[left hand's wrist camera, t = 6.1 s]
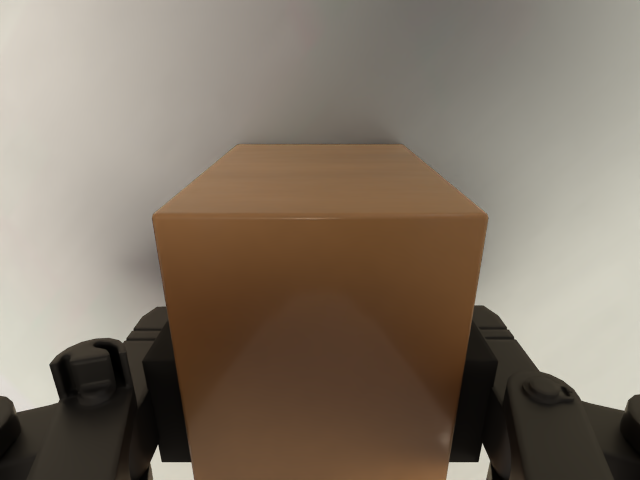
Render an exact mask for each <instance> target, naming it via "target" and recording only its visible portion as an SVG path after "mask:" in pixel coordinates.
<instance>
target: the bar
mask: <svg viewBox="0 0 640 480" xmlns="http://www.w3.org/2000/svg"><path fill="white" fill-rule="evenodd" d="M152 221H153V227H154V233H155V239H156V245H157V252H158V258H159V264H160V270H161V276H162V283H163V289H164V295H165V301H166V307H167V314H168V320H169V326H170V332H171V338H172V344H173V351H174V357H175V363H176V369H177V375H178V382H179V388H180V394H181V400H182V406H183V413H184V419H185V425H186V431H187V437H188V443H189V450H190V456H191V462H192V468H193V474H194V480H446V476H447V470H448V464H449V458H450V452H451V446H452V439H453V433H454V427H455V421H456V415H457V408H458V402H459V396H460V390H461V384H462V378H463V371H464V365H465V359H466V353H467V347H468V341H469V334H470V328H471V322H472V316H473V310H474V304H475V297H476V291H477V285H478V279H479V273H480V267H481V260H482V254H483V248H484V242H485V236H486V230H487V223H488V215H487V213H485V212H484V211H483V210H482V209H481V208H479V207H478V206H477V205H476V204H474V203H473V202H472V201H471V200H470V199H468V198H467V197H466V196H465V195H464V194H462V193H461V192H460V191H459V190H458V189H456V188H455V187H454V186H453V185H451V184H450V183H449V182H448V181H447V180H445V179H444V178H443V177H442V176H441V175H439V174H438V173H437V172H436V171H434V170H433V169H432V168H431V167H430V166H428V165H427V164H426V163H425V162H424V161H422V160H421V159H420V158H419V157H418V156H416V155H415V154H414V153H413V152H411V151H410V150H409V149H408V148H407V147H405V146H404V145H402V144H238V145H236V146H235V147H234V148H232V149H231V150H230V151H229V152H228V153H226V154H225V155H224V156H223V157H222V158H220V159H219V160H218V161H217V162H216V163H214V164H213V165H212V166H211V167H209V168H208V169H207V170H206V171H205V172H203V173H202V174H201V175H200V176H199V177H197V178H196V179H195V180H194V181H193V182H191V183H190V184H189V185H188V186H186V187H185V188H184V189H183V190H182V191H180V192H179V193H178V194H177V195H176V196H174V197H173V198H172V199H171V200H170V201H168V202H167V203H166V204H165V205H163V206H162V207H161V208H160V209H159V210H157V211H156V212H155V213H154V214H153V216H152Z"/></svg>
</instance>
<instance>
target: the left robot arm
mask: <svg viewBox="0 0 640 480" xmlns="http://www.w3.org/2000/svg"><path fill="white" fill-rule="evenodd" d="M49 365H50V369H51V372H52V375H53V379H54V382H55V385H56V388H57V392H58V395H59V398H60V400H59V402H58V403H56V404H52V405H49V406H44V407H40V408H35V409H31V410H26V411H22V412H17V413H16V410H15V407H14V404H13V402H12V401H11V400H10V399H8V398H7V397H4V396H0V480H153V476H152V469H151V464H150V461H151V459H152V457H153V455H154V452H155V450H156V448H157V446H158V445H159V450H160V455H161V460H162V462H191V456H190V450H189V443H188V437H187V431H186V425H185V419H184V413H183V406H182V400H181V394H180V388H179V382H178V375H177V369H176V363H175V357H174V351H173V344H172V338H171V332H170V326H169V320H168V314H167V307H156V308H155V309H153V310H152V311H150V312H149V313H147V314H146V315H144V316H143V317H142V318H141V319H140V321H139V322H138V324H137V325H136V326H135V328H134V331H132V332H131V333H130V334H129V336H128V337H127V340H126V341H124V343H122V342H120V341H119V340H115V339H111V338H98V339H92V340H88V341H84V342H81V343H78V344H76V345H74V346H71V347H69V348H67V349H66V350H64V351H63V352H61V353H60V354H58V355H57V356H56V357H55V358H54V360H53V361H52V362H51V363H50V364H49ZM482 443H483V445H484V447H485V450H486V452H487V454H488V456H489V459H490V464H489V469H488V474H487V478H486V480H640V394H639V395H634V396H633V397H632V398H631V399H629V400H628V403H627V405H626V408H625V411H622V410H618V409H613V408H609V407H604V406H600V405H595V404H591V403H587V402H584V401H581V399H580V398H579V396H578V395H577V393H576V392H575V390H574V389H573V388H571V387H570V386H569V385H568V384H566V383H565V382H564V381H562V380H560V379H558V378H556V377H554V376H552V375H550V374H547V373H543V372H540V371H539V370H538V369H537V367H536V366H535V365H534V363H533V362H532V361H531V359H530V358H529V356H528V355H527V354H526V352H525V351H524V350H523V348H522V347H521V346H520V344H519V343H518V342H517V340H514V336H513V335H512V334H511V332H510V331H509V330H507V327H506V326H505V324H504V323H503V321H502V320H501V319H500V317H499V316H498V315H497V314H495V313H494V312H492V311H491V310H489V309H488V308H486V307H485V306H474V310H473V316H472V322H471V328H470V334H469V341H468V347H467V353H466V359H465V365H464V371H463V378H462V384H461V390H460V396H459V402H458V408H457V415H456V421H455V427H454V433H453V439H452V446H451V452H450V458H449V462H479V457H480V452H481V447H482Z"/></svg>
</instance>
